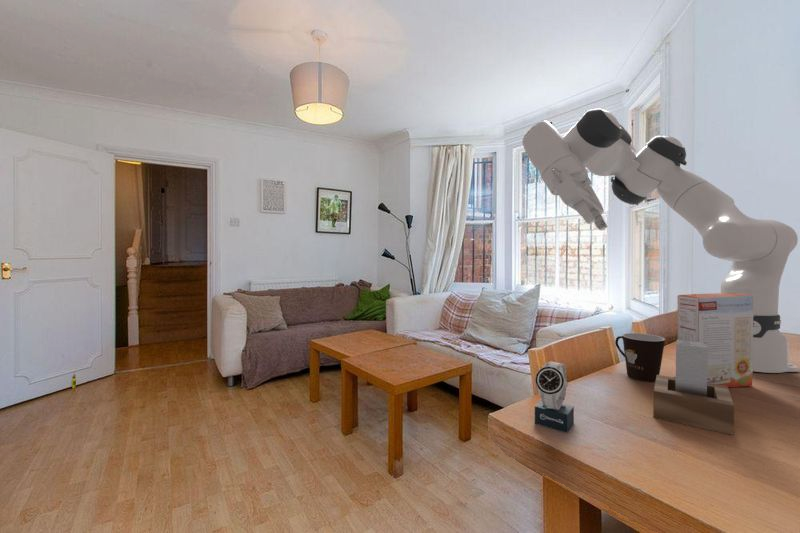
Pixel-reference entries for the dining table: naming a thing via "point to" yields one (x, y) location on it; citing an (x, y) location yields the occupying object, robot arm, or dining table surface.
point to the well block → (694, 406)
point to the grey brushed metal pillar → (691, 367)
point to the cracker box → (720, 334)
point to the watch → (553, 398)
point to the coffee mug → (642, 355)
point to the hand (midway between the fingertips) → (598, 225)
